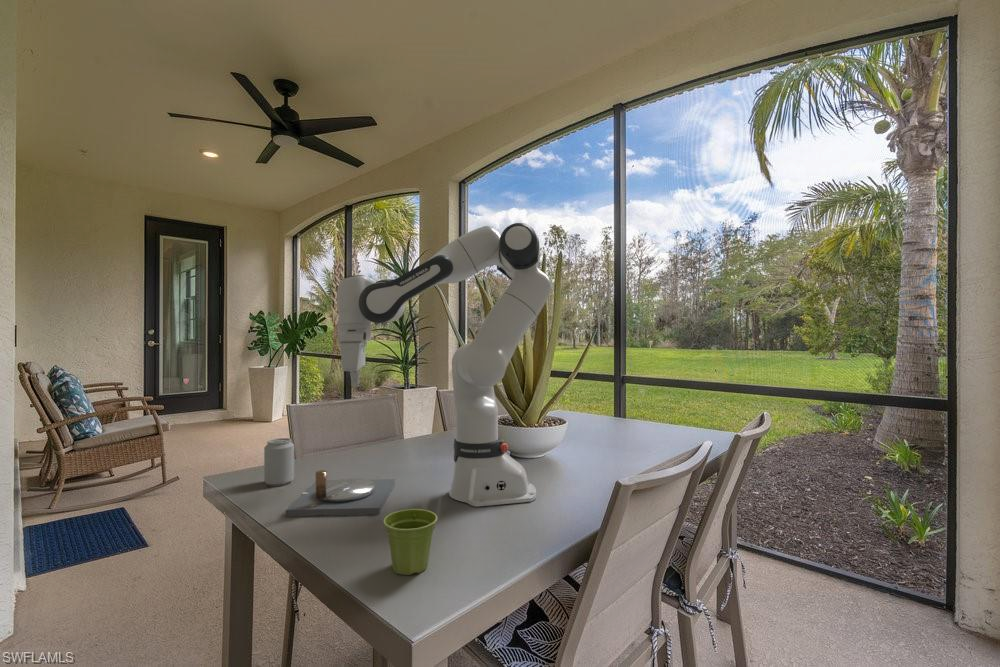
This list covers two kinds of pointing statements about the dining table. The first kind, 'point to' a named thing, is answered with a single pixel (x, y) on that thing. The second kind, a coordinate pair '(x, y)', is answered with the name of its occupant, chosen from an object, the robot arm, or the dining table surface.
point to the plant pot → (410, 539)
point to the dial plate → (363, 506)
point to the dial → (341, 488)
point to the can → (278, 462)
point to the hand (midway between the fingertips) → (355, 385)
